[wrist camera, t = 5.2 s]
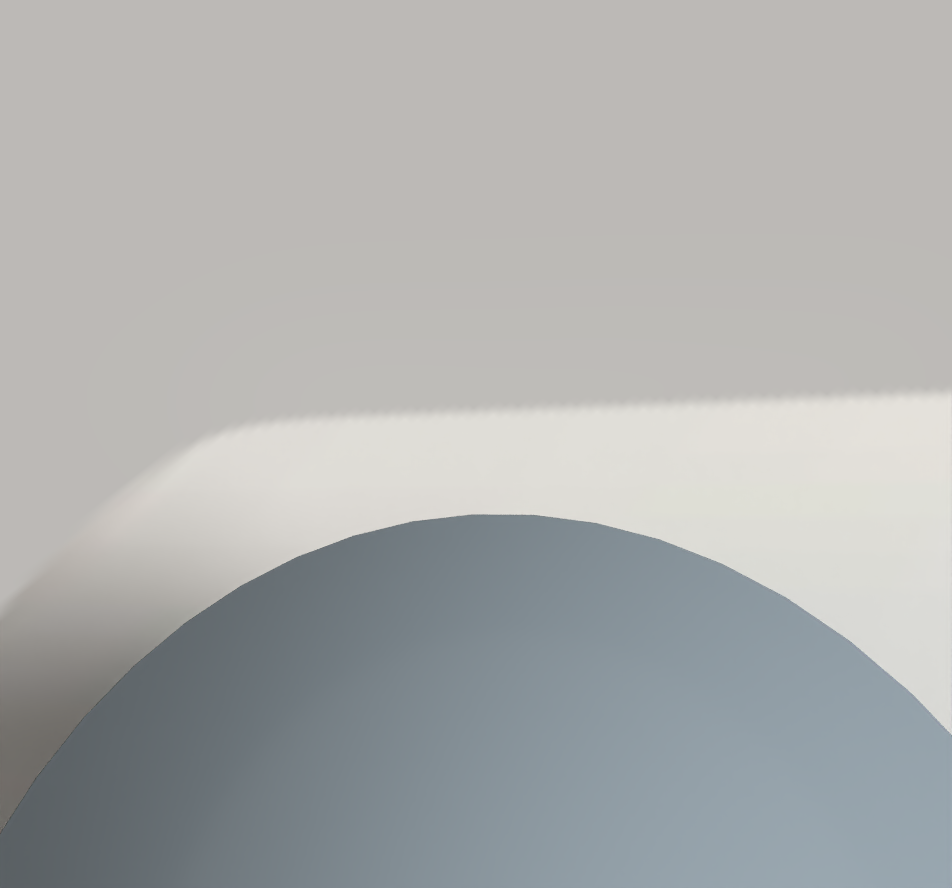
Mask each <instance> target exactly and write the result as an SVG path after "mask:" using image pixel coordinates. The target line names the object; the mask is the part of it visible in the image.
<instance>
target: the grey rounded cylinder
mask: <svg viewBox="0 0 952 888" xmlns="http://www.w3.org/2000/svg"><path fill="white" fill-rule="evenodd" d="M0 888H952V735H951V734H950V733H949V732H948V731H947V730H946V729H945V728H944V727H943V726H942V725H941V724H940V723H939V722H938V721H937V719H936V718H935V717H934V716H933V715H932V714H931V713H930V712H929V711H928V710H927V709H926V708H925V707H924V706H923V705H922V704H921V703H920V702H919V701H918V700H917V699H916V697H915V696H914V695H913V694H911V693H910V692H909V691H908V690H907V689H906V688H904V687H903V686H902V685H901V684H900V683H899V682H897V681H896V680H895V679H894V678H893V677H891V676H890V675H889V674H888V673H887V672H886V671H884V670H883V669H882V668H881V667H880V666H879V665H877V664H876V663H875V662H874V661H873V660H872V659H870V658H869V657H868V656H867V655H866V654H864V653H863V652H862V651H861V650H860V649H859V648H857V647H856V646H855V645H854V644H853V643H852V642H850V641H849V640H848V639H846V638H845V637H843V636H842V635H840V634H839V633H837V632H836V631H834V630H833V629H831V628H830V627H828V626H827V625H826V624H824V623H823V622H821V621H820V620H818V619H817V618H815V617H814V616H812V615H811V614H809V613H808V612H806V611H805V610H803V609H802V608H801V607H799V606H798V605H796V604H795V603H793V602H792V601H790V600H789V599H787V598H786V597H784V596H782V595H780V594H778V593H776V592H774V591H773V590H771V589H769V588H767V587H765V586H763V585H761V584H759V583H757V582H755V581H754V580H752V579H750V578H748V577H746V576H744V575H742V574H740V573H738V572H737V571H735V570H733V569H731V568H729V567H727V566H725V565H723V564H721V563H718V562H716V561H713V560H711V559H708V558H706V557H703V556H700V555H698V554H695V553H693V552H690V551H688V550H685V549H682V548H680V547H677V546H675V545H672V544H670V543H667V542H664V541H662V540H659V539H656V538H652V537H648V536H644V535H640V534H636V533H632V532H628V531H624V530H621V529H617V528H613V527H609V526H605V525H601V524H597V523H591V522H583V521H576V520H568V519H560V518H553V517H545V516H537V515H465V516H456V517H448V518H439V519H430V520H422V521H413V522H409V523H405V524H401V525H396V526H392V527H388V528H384V529H380V530H376V531H372V532H368V533H364V534H359V535H355V536H352V537H349V538H347V539H344V540H341V541H339V542H336V543H333V544H331V545H328V546H325V547H323V548H320V549H317V550H315V551H312V552H309V553H307V554H304V555H301V556H299V557H296V558H294V559H292V560H290V561H288V562H286V563H284V564H282V565H281V566H279V567H277V568H275V569H273V570H271V571H269V572H267V573H265V574H263V575H261V576H259V577H257V578H255V579H253V580H251V581H249V582H248V583H246V584H244V585H242V586H240V587H238V588H237V589H235V590H234V591H232V592H231V593H229V594H228V595H226V596H225V597H223V598H222V599H220V600H219V601H217V602H216V603H214V604H213V605H211V606H210V607H208V608H207V609H205V610H204V611H202V612H201V613H199V614H198V615H196V616H195V617H193V618H192V619H190V620H189V621H187V622H186V623H185V624H183V625H182V626H181V627H180V628H179V629H178V630H176V631H175V632H174V633H173V634H172V635H170V636H169V637H168V638H167V639H166V640H164V641H163V642H162V643H161V644H160V645H158V646H157V647H156V648H155V649H154V650H152V651H151V652H150V653H149V654H148V655H147V656H145V657H144V658H143V659H142V660H141V661H139V662H138V663H137V664H136V665H135V666H133V667H132V668H131V669H130V671H129V672H128V673H127V674H126V675H125V676H124V677H123V678H122V679H121V680H120V681H119V682H118V683H117V684H116V685H115V686H114V687H113V688H112V689H111V690H110V691H109V692H108V693H107V694H106V695H105V696H104V697H103V698H102V699H101V701H100V702H99V703H98V704H97V705H96V706H95V707H94V708H93V709H92V710H91V711H90V712H89V713H88V714H87V715H86V716H85V717H84V718H83V719H82V721H81V722H80V723H79V724H78V726H77V727H76V728H75V729H74V731H73V732H72V733H71V735H70V736H69V737H68V738H67V740H66V741H65V742H64V743H63V745H62V746H61V747H60V748H59V750H58V751H57V752H56V753H55V755H54V756H53V757H52V759H51V760H50V761H49V762H48V764H47V765H46V766H45V767H44V769H43V770H42V771H41V772H40V774H39V775H38V776H37V778H36V779H35V780H34V782H33V784H32V785H31V787H30V788H29V790H28V791H27V793H26V794H25V796H24V798H23V799H22V801H21V802H20V804H19V805H18V807H17V808H16V810H15V812H14V813H13V815H12V816H11V818H10V819H9V821H8V822H7V824H6V825H5V827H4V829H3V830H2V832H1V833H0Z"/></svg>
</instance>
